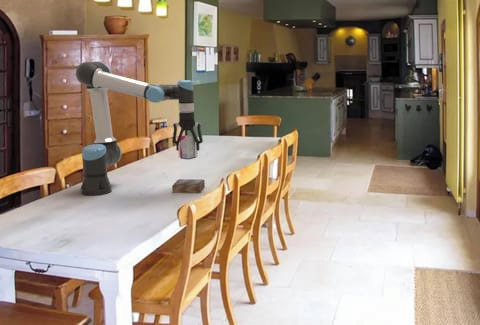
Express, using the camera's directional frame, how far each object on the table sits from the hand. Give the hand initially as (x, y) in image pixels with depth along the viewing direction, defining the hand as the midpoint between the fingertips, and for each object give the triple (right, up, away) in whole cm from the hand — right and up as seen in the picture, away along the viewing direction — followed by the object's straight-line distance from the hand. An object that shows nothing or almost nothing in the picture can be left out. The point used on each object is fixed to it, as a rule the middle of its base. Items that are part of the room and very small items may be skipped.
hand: (188, 156), depth 290 cm
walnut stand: (0, -17, +3) cm, 17 cm away
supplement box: (0, -1, 0) cm, 1 cm away
